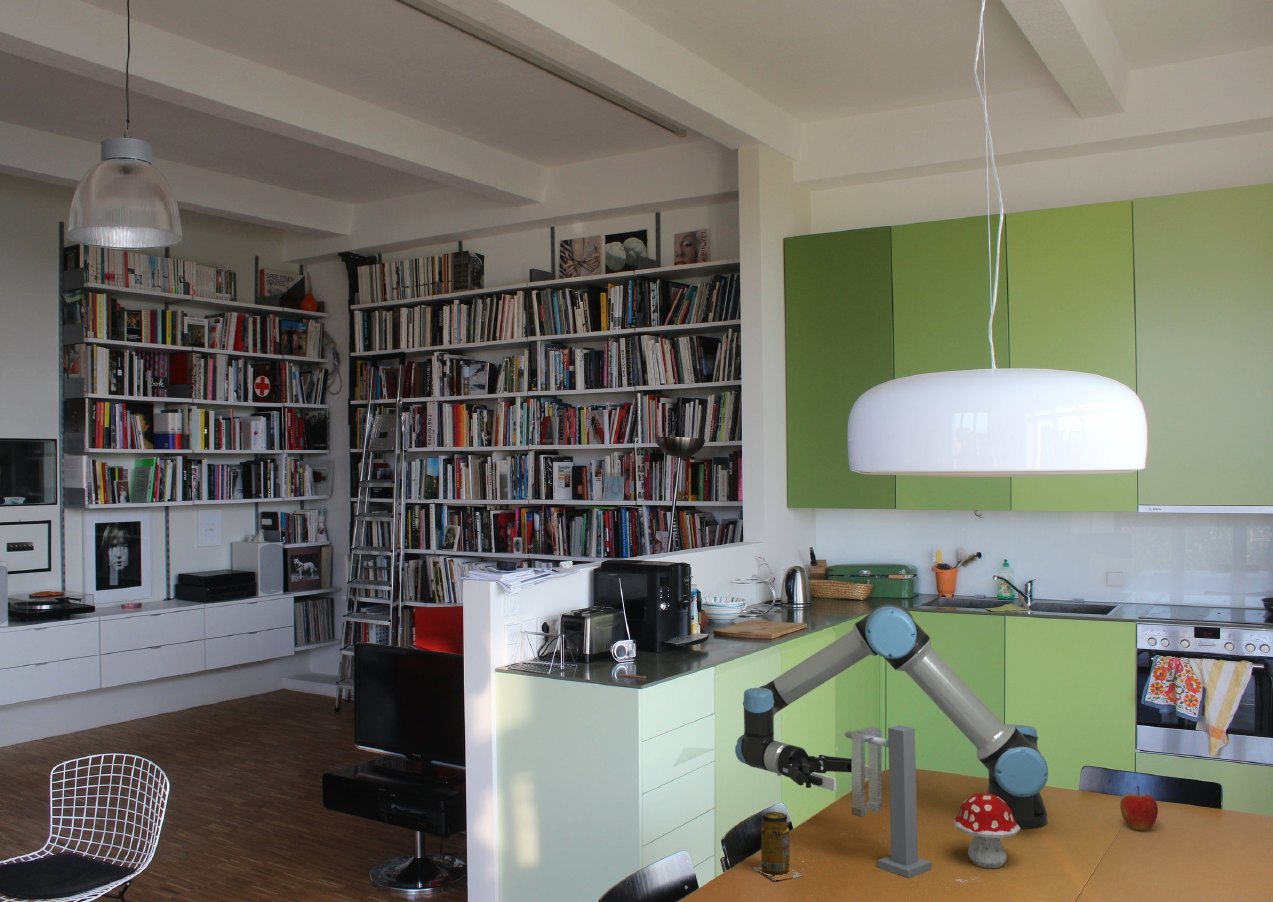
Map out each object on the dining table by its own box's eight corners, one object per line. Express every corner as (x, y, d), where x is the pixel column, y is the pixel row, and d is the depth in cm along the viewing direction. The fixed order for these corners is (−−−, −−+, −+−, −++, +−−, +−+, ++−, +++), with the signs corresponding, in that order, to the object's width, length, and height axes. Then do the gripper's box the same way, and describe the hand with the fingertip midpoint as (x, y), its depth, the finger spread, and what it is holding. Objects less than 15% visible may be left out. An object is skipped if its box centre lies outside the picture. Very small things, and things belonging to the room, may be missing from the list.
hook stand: (931, 868, 213) (928, 728, 214) (908, 877, 208) (905, 734, 209) (859, 844, 229) (856, 713, 230) (836, 852, 224) (833, 718, 225)
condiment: (780, 863, 217) (779, 808, 218) (802, 876, 210) (801, 819, 210) (752, 869, 214) (751, 813, 215) (774, 882, 207) (773, 824, 207)
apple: (1122, 832, 234) (1120, 789, 235) (1119, 822, 242) (1118, 780, 242) (1160, 836, 231) (1159, 793, 232) (1156, 825, 239) (1155, 784, 239)
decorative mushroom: (941, 861, 217) (939, 792, 218) (978, 847, 226) (976, 780, 226) (998, 880, 206) (995, 807, 207) (1034, 864, 215) (1032, 794, 215)
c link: (872, 807, 223) (872, 726, 224) (881, 809, 221) (881, 728, 223) (851, 814, 218) (851, 731, 219) (861, 816, 216) (860, 733, 217)
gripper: (822, 766, 248) (890, 785, 232) (750, 785, 233) (818, 806, 216) (821, 736, 249) (889, 753, 232) (750, 753, 234) (817, 772, 217)
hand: (855, 779), depth 224 cm, fingers open, 13 cm apart
